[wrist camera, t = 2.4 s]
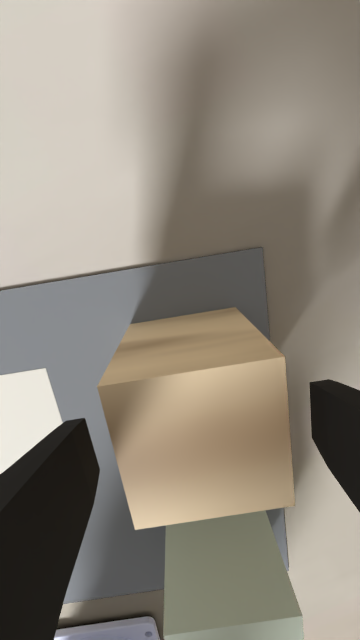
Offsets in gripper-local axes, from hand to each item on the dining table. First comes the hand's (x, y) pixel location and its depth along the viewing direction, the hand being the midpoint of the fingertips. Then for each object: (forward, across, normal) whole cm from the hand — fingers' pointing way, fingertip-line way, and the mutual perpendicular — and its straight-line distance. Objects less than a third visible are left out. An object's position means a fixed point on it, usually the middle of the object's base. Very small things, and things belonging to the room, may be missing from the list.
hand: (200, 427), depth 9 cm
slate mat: (+5, +4, +5) cm, 9 cm away
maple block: (+5, 0, 0) cm, 5 cm away
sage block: (+5, 0, +10) cm, 11 cm away
